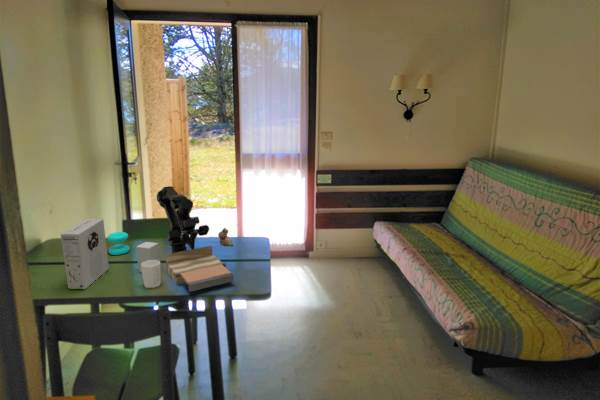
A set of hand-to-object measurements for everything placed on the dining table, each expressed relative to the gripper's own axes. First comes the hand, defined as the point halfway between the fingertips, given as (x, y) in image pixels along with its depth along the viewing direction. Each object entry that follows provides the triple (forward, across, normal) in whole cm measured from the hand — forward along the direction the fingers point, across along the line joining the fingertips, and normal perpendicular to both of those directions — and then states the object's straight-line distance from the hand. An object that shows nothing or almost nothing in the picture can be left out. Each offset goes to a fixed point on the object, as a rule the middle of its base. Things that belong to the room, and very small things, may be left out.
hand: (193, 249), depth 197 cm
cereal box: (-3, -42, +20) cm, 47 cm away
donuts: (-22, -25, +40) cm, 52 cm away
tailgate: (+12, 0, -3) cm, 12 cm away
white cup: (+11, -20, +5) cm, 23 cm away
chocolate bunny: (-10, +26, +27) cm, 39 cm away
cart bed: (+9, 0, +7) cm, 11 cm away
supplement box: (-1, -17, +17) cm, 24 cm away
